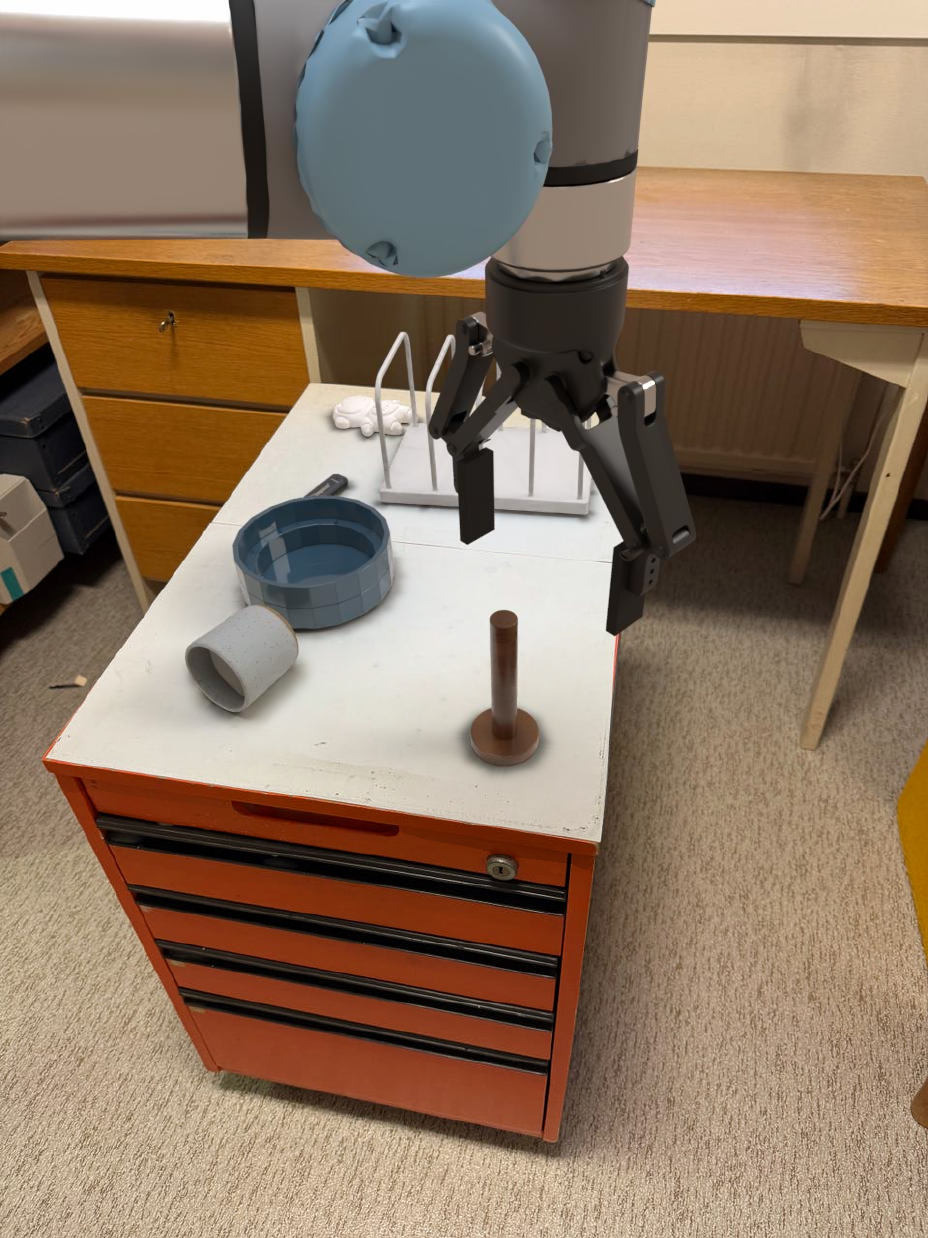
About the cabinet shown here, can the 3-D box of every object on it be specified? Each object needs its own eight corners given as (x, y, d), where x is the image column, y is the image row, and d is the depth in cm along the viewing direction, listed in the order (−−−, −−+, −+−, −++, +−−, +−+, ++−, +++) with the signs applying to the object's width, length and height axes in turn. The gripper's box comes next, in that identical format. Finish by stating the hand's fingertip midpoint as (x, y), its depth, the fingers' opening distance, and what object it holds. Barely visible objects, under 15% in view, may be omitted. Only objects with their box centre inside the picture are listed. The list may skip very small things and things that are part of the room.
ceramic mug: (310, 669, 85) (297, 608, 80) (254, 724, 80) (236, 663, 75) (229, 635, 90) (211, 576, 85) (170, 685, 85) (148, 625, 80)
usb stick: (302, 524, 104) (300, 513, 103) (285, 518, 105) (283, 507, 104) (351, 486, 110) (349, 475, 109) (334, 480, 111) (333, 470, 110)
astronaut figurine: (388, 445, 117) (386, 424, 115) (320, 423, 123) (317, 403, 121) (427, 417, 123) (425, 397, 121) (360, 397, 128) (358, 378, 126)
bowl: (249, 646, 88) (237, 600, 84) (239, 553, 100) (228, 509, 96) (407, 616, 91) (402, 570, 87) (379, 529, 103) (374, 485, 99)
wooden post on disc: (480, 772, 75) (476, 651, 66) (463, 722, 80) (457, 601, 70) (547, 757, 76) (552, 635, 67) (526, 708, 81) (528, 588, 71)
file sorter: (596, 443, 116) (604, 328, 106) (587, 518, 103) (596, 396, 93) (410, 433, 120) (401, 321, 109) (379, 504, 107) (366, 385, 97)
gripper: (812, 296, 40) (735, 638, 54) (450, 193, 55) (463, 485, 69) (714, 347, 37) (658, 700, 51) (354, 222, 51) (387, 524, 65)
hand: (546, 577), depth 60 cm, fingers open, 13 cm apart
